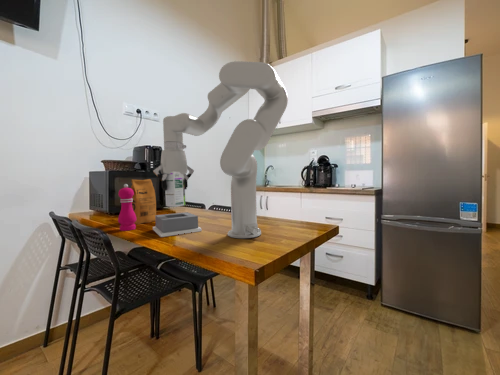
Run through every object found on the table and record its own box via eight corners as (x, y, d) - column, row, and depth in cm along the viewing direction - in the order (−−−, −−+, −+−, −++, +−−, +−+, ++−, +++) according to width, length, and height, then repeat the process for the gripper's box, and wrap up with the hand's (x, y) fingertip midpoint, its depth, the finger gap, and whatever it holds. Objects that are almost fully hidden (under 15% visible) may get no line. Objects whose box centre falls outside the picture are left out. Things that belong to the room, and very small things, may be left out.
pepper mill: (140, 227, 107) (138, 183, 106) (130, 231, 100) (128, 184, 99) (125, 227, 108) (123, 183, 107) (114, 231, 101) (112, 184, 100)
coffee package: (125, 223, 119) (123, 179, 118) (148, 219, 129) (146, 179, 128) (135, 225, 113) (133, 179, 112) (159, 220, 123) (157, 178, 122)
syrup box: (174, 207, 95) (173, 171, 94) (165, 206, 98) (164, 171, 97) (185, 205, 100) (184, 171, 99) (176, 204, 103) (175, 171, 102)
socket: (201, 231, 97) (201, 216, 97) (160, 237, 88) (160, 220, 88) (189, 224, 110) (188, 211, 110) (152, 229, 102) (152, 215, 102)
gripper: (191, 149, 106) (192, 188, 106) (149, 147, 96) (151, 190, 97) (196, 147, 99) (198, 189, 100) (153, 145, 90) (154, 191, 91)
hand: (175, 189), depth 99 cm, fingers closed on syrup box, 7 cm apart
